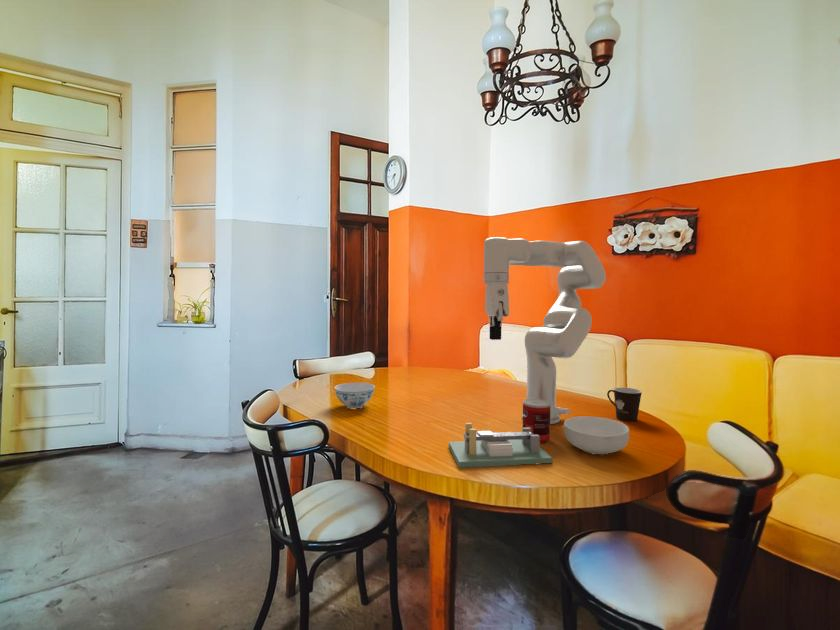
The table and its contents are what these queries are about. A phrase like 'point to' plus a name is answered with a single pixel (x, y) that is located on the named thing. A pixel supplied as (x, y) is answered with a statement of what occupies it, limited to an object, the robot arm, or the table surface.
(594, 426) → the cereal bowl
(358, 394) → the chinaware
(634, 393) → the coffee mug
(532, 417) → the canned food
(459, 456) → the clamp board
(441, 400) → the table surface
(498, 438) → the grey hinged clamp lever
